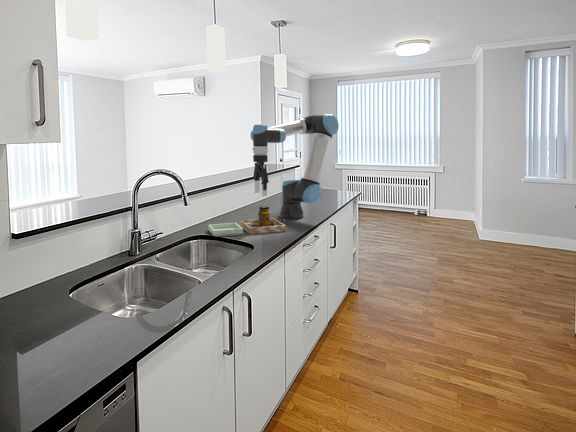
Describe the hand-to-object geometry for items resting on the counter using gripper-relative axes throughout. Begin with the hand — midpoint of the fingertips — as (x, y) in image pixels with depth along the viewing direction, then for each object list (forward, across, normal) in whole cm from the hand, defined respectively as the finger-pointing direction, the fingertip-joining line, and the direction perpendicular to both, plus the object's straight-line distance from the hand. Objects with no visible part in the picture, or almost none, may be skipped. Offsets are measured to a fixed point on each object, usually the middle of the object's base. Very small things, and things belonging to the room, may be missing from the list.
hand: (260, 194), depth 218 cm
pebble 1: (+19, -5, -6) cm, 20 cm away
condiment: (+19, +1, +1) cm, 19 cm away
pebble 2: (+19, +6, +7) cm, 21 cm away
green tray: (+19, +3, -20) cm, 28 cm away
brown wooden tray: (+19, +1, +1) cm, 19 cm away
